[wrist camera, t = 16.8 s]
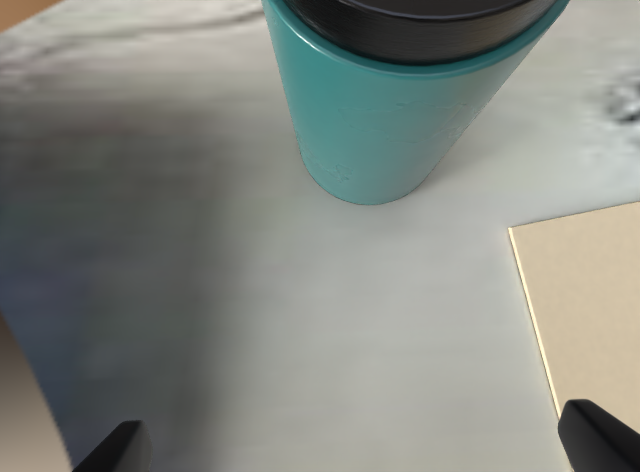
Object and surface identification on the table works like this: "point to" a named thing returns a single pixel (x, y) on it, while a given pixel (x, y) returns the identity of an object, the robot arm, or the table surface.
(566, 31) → the table surface
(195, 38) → the table surface
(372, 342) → the table surface
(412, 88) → the flask
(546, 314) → the cloth
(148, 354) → the table surface
